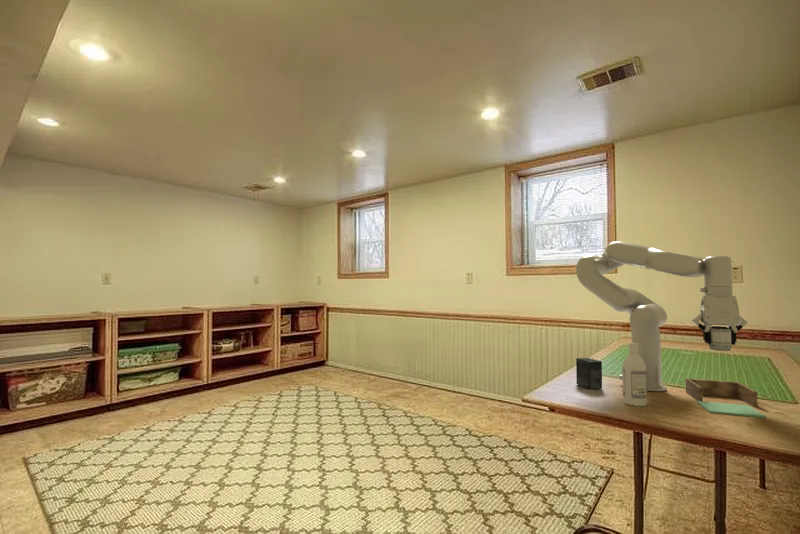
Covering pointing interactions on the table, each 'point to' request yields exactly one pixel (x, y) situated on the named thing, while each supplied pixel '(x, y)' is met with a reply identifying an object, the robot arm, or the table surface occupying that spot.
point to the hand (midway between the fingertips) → (719, 343)
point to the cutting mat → (730, 409)
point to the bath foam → (634, 378)
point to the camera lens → (720, 338)
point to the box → (589, 373)
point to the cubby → (720, 390)
